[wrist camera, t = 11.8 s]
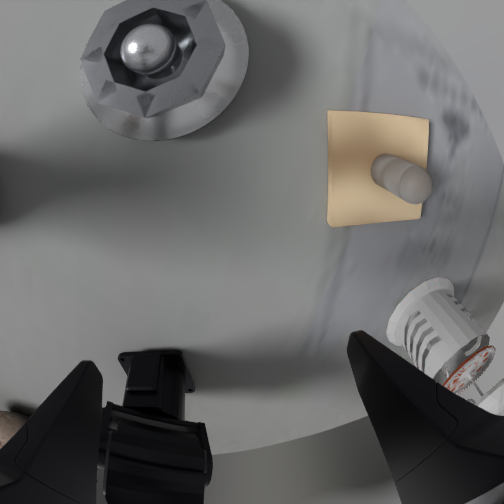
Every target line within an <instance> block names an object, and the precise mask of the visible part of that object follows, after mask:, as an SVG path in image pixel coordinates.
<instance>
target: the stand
mask: <svg viewBox="0 0 504 504" xmlns="http://www.w3.org/2000/svg"><path fill="white" fill-rule="evenodd" d="M327 116H328V210H327V222H328V224H329V225H330V226H331V227H341V226H351V225H361V224H371V223H380V222H391V221H401V220H411V219H420V216H421V209H422V203H423V202H425V201H426V200H427V199H428V198H429V197H430V195H431V192H432V187H433V184H432V179H431V177H430V175H429V173H428V172H427V171H426V167H427V154H428V135H429V120H428V119H423V118H416V117H409V116H401V115H392V114H383V113H371V112H357V111H336V110H327Z"/></svg>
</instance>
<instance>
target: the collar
mask: <svg viewBox="0 0 504 504" xmlns="http://www.w3.org/2000/svg"><path fill="white" fill-rule="evenodd" d="M147 23H156V24H160V25H161V24H167V25H170V26H174V27H177V28H180V29H183V30H187V31H190V32H191V35H192V37H193V40H194V42H195V45H196V48H195V49H194V51H193V53H192V55H191V57H190V59H189V61H188V62H187V64H186V66H185V68H184V70H183V72H182V74H181V76H180V77H178V78H175V79H173V80H171V81H168V82H166V83H164V84H162V85H159V86H157V87H155V88H153V89H151V90H149V91H145V90H142V89H139V88H135V87H132V86H131V84H130V82H129V79H128V77H127V74H126V72H125V69H124V66H123V64H122V59H121V55H120V48H121V44H122V41H123V39H124V38H125V36H126V35H127V34H128V33H129V32H130V31H131V30H132V29H134V28H136V27H137V26H140V25H143V24H147ZM225 46H226V45H225V42H224V40H223V37H222V35H221V32H220V30H219V28H218V25H217V23H216V20H215V18H214V16H213V13H212V11H211V9H210V6H209V4H208V2H207V0H126V1H124V2H122V3H120V4H118V5H116V6H114V7H112V8H110V9H108V10H106V11H104V13H103V15H102V17H101V19H100V20H99V22H98V24H97V26H96V28H95V30H94V32H93V34H92V36H91V38H90V40H89V42H88V44H87V46H86V48H85V50H84V52H83V55H82V57H81V62H82V65H83V67H84V70H85V73H86V76H87V79H88V81H89V84H90V87H91V89H92V92H93V95H94V97H95V100H96V103H99V104H102V105H106V106H109V107H112V108H115V109H118V110H122V111H125V112H128V113H131V114H134V115H137V116H140V117H143V118H151V117H157V116H160V115H162V114H164V113H166V112H168V111H171V110H173V109H175V108H178V107H180V106H182V105H185V104H187V103H190V102H192V101H195V100H197V99H200V98H202V97H203V95H204V93H205V91H206V89H207V87H208V85H209V83H210V81H211V79H212V77H213V75H214V73H215V71H216V70H217V68H218V66H219V64H220V62H221V60H222V58H223V57H224V52H225Z"/></svg>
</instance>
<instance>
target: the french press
mask: <svg viewBox="0 0 504 504" xmlns="http://www.w3.org/2000/svg"><path fill="white" fill-rule="evenodd" d="M458 303H459V302H458ZM463 308H464V307H463V306H462V305H461V304H460V303H459V304H457V300H456V299H455V298H454V285H453V284H452V283H451V281H450V280H449V279H448V278H443V277H436V278H433V279H430V280H427V281H424V282H423V283H422V284H420V285H419V286H417V287H416V288H414V289H413V290H411V291H410V292H409V293H408V294H407V295H406V297H405V298H404V299H403V300H402V301H401V302H400V303H399V304H398V305H397V307H396V309H395V310H394V312H393V314H392V315H391V317H390V319H389V322H388V326H387V331H386V334H387V337H388V340H389V342H391V343H393V344H395V345H396V346H403V347H404V348H405V350H406V351H407V352H408V355H409V356H410V358H411V359H412V360H413V361H414V364H415V366H416V367H417V368H418V369H419V370H421V369H422V370H423V371H424V373H425V374H427V375H428V376H429V377H431V378H432V379H434V380H435V381H436V382H438V383H440V384H441V385H443V386H444V387H446V388H447V389H449V390H450V391H452V392H453V393H455V394H457V395H458V393H460V392H461V391H462V392H463V390H465V388H467V387H468V386H470V384H472V383H473V384H474V385H475V387H476V388H477V390H478V391H479V393H480V395H481V396H482V397H481V398H480V399H479V400H478V401H477V402H475V401H474V400H473V399H468V400H467V401H472V402H473V404H475V405H477V406H478V407H480V408H482V409H484V410H486V411H488V412H490V413H492V414H495V415H499V416H500V414H501V412H502V411H503V409H504V378H503V379H502V380H501V381H499V382H498V383H497V384H496V385H495V386H494V387H493V388H491V389H490V390H489V391H488V392H487V393H485V394H484V395H483V393H482V392H481V391H480V389H479V387H478V386H477V384H476V383H475V380H477V378H479V376H481V373H482V374H483V371H485V369H486V368H487V367H488V366H489V364H490V363H491V361H492V360H493V357H494V354H495V348H494V347H493V346H488V345H489V339H490V338H489V336H488V334H487V333H486V332H485V331H484V330H483V328H482V327H481V326H480V325H479V324H478V323H477V321H476V320H475V319H473V317H472V316H471V315H470V314H469V313H468V311H466V310H465V312H464V310H463ZM460 309H461V310H462V311H461V310H460ZM464 309H465V308H464ZM470 316H471V317H472V321H471V318H470ZM481 335H482V339H481V343H480V346H479V348H478V349H477V350H476V351H475V352H474V353H472V354H471V355H469V356H467V357H466V355H465V354H464V353H465V352H466V351H468V350H470V349H471V348H472V347H473V346H474V345H475V343H476V342H477V339H478V336H481ZM469 341H470V342H469ZM428 342H430V344H431V345H432V348H431V350H430V352H429V351H428V350H427V348H426V346H427V344H428ZM468 342H469V344H468V345H466V346H465V347H463V346H464V345H465V344H467V343H468ZM461 347H463V348H461ZM460 348H461V349H460ZM410 352H411V353H412V356H411V354H410ZM416 360H417V362H418V364H416ZM444 363H445V366H446V373H447V378H446V376H445V375H444V373H443V372H442V370H441V369H440V368H441V367H442V366H443V365H444ZM447 368H448V369H449V371H450V372H451V375H450V376H449V374H448V369H447ZM422 370H421V371H422ZM458 396H459V395H458Z"/></svg>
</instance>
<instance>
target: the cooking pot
mask: <svg viewBox="0 0 504 504" xmlns="http://www.w3.org/2000/svg"><path fill="white" fill-rule="evenodd" d="M29 418H30V417H29V416H27V415H25V414H22V413H18V412H8V411H0V448H1V447H3V446H4V445H5V444H6V443H7V442H8V441H9V440H10V439H11V438H12V437H13V436H14V434H15V433H16V432H17V431H18V430H19V429H20V428H21V427H22V426H23V424H24V423H25V422H27V420H28V419H29Z"/></svg>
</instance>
